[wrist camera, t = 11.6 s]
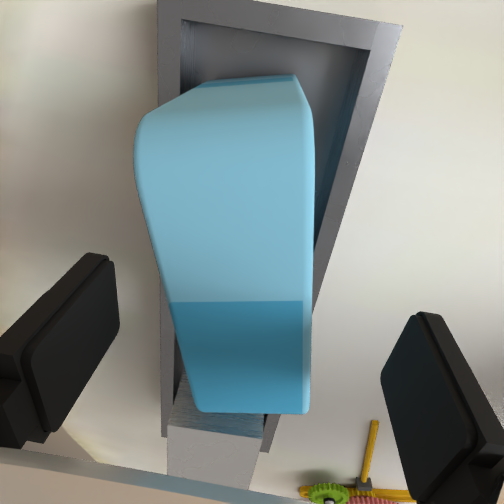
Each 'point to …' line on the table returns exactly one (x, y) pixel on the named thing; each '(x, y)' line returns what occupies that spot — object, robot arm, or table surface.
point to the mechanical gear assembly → (363, 496)
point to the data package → (235, 237)
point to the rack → (326, 172)
